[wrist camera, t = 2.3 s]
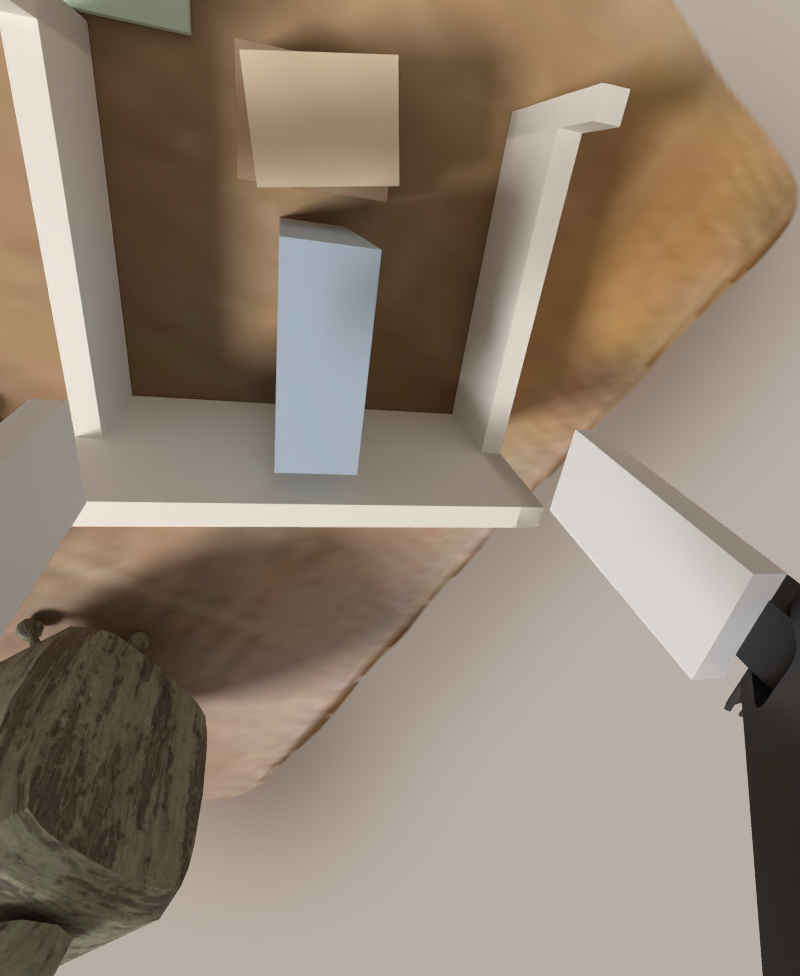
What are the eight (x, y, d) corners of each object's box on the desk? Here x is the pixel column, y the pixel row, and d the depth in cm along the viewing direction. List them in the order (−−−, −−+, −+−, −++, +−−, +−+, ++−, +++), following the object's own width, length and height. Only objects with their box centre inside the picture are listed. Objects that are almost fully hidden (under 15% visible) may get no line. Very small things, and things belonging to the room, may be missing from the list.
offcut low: (240, 56, 24) (234, 37, 21) (386, 86, 26) (400, 73, 23) (241, 179, 26) (236, 178, 23) (375, 200, 28) (386, 202, 25)
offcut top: (243, 65, 21) (239, 49, 19) (384, 69, 22) (398, 54, 20) (259, 187, 24) (257, 187, 21) (386, 185, 25) (399, 185, 22)
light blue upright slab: (279, 217, 27) (279, 235, 17) (344, 226, 28) (381, 249, 18) (276, 380, 32) (274, 472, 21) (332, 384, 32) (357, 474, 22)
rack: (55, 14, 22) (-139, -134, 12) (532, 116, 27) (682, 75, 17) (112, 413, 31) (29, 526, 20) (465, 431, 36) (537, 527, 26)
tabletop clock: (-8, 615, 36) (-420, 1228, 15) (102, 557, 35) (-161, 1109, 14) (134, 718, 44) (-3, 1218, 23) (226, 672, 43) (175, 1141, 22)
